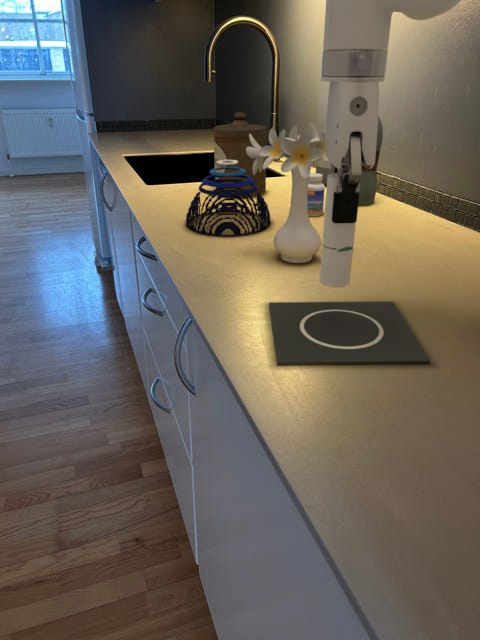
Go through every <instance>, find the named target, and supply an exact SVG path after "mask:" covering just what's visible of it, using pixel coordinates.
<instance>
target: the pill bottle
mask: <svg viewBox="0 0 480 640" xmlns="http://www.w3.org/2000/svg"><path fill="white" fill-rule="evenodd" d="M322 180H323V175H322V174H318V173H316V172H312V173H311V172H310V175H309V180H308V216H309V217H319V216H321V215H323V212H324V200H325V187H326V186H324V184H323V183H321V181H322Z"/></svg>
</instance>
